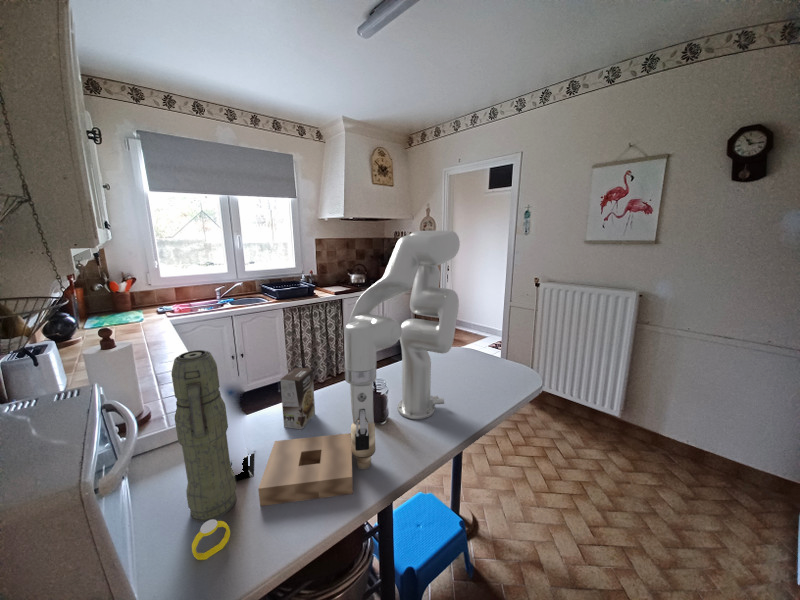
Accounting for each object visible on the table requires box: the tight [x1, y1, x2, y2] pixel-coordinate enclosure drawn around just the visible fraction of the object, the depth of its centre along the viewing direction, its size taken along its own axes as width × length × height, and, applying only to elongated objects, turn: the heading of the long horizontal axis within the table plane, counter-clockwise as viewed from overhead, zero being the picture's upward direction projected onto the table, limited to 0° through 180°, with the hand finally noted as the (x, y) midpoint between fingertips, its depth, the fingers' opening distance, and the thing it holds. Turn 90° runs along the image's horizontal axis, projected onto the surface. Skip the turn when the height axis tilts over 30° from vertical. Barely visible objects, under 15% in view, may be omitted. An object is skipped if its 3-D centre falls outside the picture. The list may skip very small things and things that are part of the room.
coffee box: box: [280, 367, 316, 430], centre depth 97 cm, size 9×6×16 cm
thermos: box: [171, 349, 237, 523], centre depth 64 cm, size 9×12×35 cm
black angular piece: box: [235, 447, 256, 483], centre depth 78 cm, size 12×7×5 cm, turn 24°
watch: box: [191, 519, 231, 561], centre depth 57 cm, size 6×3×6 cm, turn 136°
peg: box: [350, 419, 377, 470], centre depth 79 cm, size 6×6×11 cm
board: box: [257, 432, 354, 507], centre depth 76 cm, size 20×16×4 cm
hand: (361, 436), depth 78 cm, fingers open, 9 cm apart
